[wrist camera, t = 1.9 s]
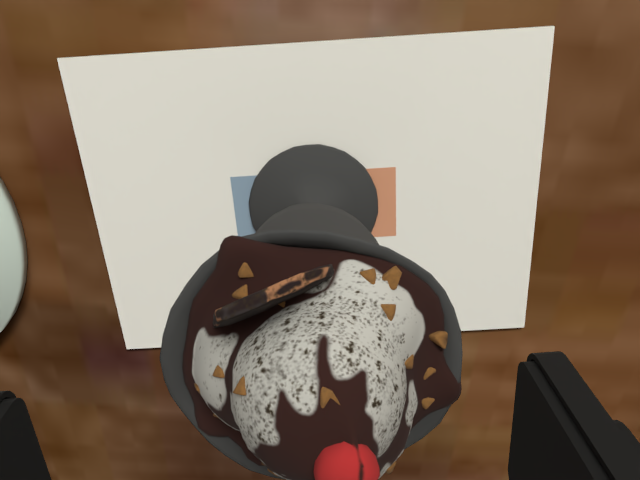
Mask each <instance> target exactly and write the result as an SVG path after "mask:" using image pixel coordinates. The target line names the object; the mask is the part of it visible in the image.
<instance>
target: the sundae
mask: <svg viewBox="0 0 640 480" xmlns="http://www.w3.org/2000/svg"><path fill="white" fill-rule="evenodd" d="M249 211H250V217H251V221H252V226H253V227H254V229H255V231H256V232H255V233H254V234H250V235H246V236H242V237H241V236H234V235H231V236H229V237H226V238H224V240H223V241H222V243H221V245H220V249H219V251H217V252H216V253H215V254H214V255H212V256H211V257H210V258H209V259H208V260H206V261H205V262H204V263H203V264H202V265H201V266H200V267H199V268H198V270H197V271H196V272H195V273H194V275H193V276H192V277H191V279H190V280H189V281H188V282H187V284H186V285H185V287H184V288H183V290H182V292H181V293H180V295H179V296H178V298H177V300H176V301H175V303H174V304H173V306H172V308H171V309H170V312H169V316H168V319H167V322H166V326H165V329H164V332H163V337H162V345H161V352H160V362H161V367H162V371H163V376H164V380H165V383H166V385H167V388H168V390H169V392H170V395H171V397H172V398H173V399H174V401H175V402H176V404H177V405H178V406H179V408H180V409H181V411H182V412H183V413H184V414H185V415H186V417H187V418H188V419H189V420H190V422H191V423H192V424H193V425H194V426H195V427H196V429H197V430H198V431H199V432H200V433H201V434H202V435H203V436H204V437H205V438H206V440H207V441H208V442H209V443H211V444H212V445H213V446H214V447H216V448H217V449H218V450H219V451H221V452H222V453H223V454H224V455H225V456H227V457H229V458H230V459H232V460H233V461H235V462H237V463H238V464H240V465H242V466H243V467H245V468H246V469H248V470H251V471H254V472H257V473H261V474H264V475H267V476H270V477H274V478H281V479H287V480H378V479H379V478H380V477H381V476H382V475H383V474H384V473H385V472H386V473H388V474H390V473H391V472H392V471H393V469H394V467H395V465H396V460H397V458H398V457H399V456H400V455H401V454H402V453H403V450H404V449H406V448H407V447H409V446H411V445H412V444H414V443H415V442H417V441H419V440H420V439H422V438H423V437H424V436H426V435H427V434H428V433H429V432H430V431H431V430H433V429H434V428H435V427H436V426H437V425H438V424H440V422H441V420H442V419H443V417H444V416H445V414H446V412H447V411H448V409H449V407H450V406H451V404H453V403H454V402H455V401H456V400H458V398H459V396H460V394H461V367H462V340H461V329H460V326H459V323H458V319H457V316H456V313H455V309H454V307H453V305H452V303H451V301H450V299H449V297H448V295H447V293H446V291H445V290H444V288H443V287H442V286H441V285H440V284H439V283H438V281H437V280H436V279H435V278H434V277H433V275H432V274H431V273H429V272H428V271H426V270H425V269H423V268H422V267H421V266H419V265H418V264H416V263H415V262H413V261H411V260H410V259H408V258H406V257H404V256H402V255H401V254H399V253H397V252H395V251H393V250H391V249H390V248H387V247H384V246H381V245H379V244H378V242H377V240H376V238H375V237H374V236H373V235H372V234H371V232H372V230H373V227H374V225H375V222H376V219H377V215H378V197H377V189H376V187H375V185H374V183H373V180H372V178H371V176H370V175H369V173H368V172H367V170H366V168H365V167H364V166H363V165H362V164H361V163H360V162H358V161H357V160H356V159H355V158H354V157H352V156H351V155H349V154H348V153H346V152H345V151H342V150H339V149H337V148H334V147H330V146H326V145H321V144H311V145H301V146H295V147H292V148H290V149H287V150H285V151H283V152H281V153H279V154H278V155H276V156H275V157H273V158H271V159H270V160H269V161H268V162H267V163H266V165H265V166H264V167H263V168H262V169H261V170H260V172H259V173H258V175H257V176H256V178H255V179H254V182H253V185H252V188H251V192H250V197H249Z"/></svg>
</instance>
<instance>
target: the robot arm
mask: <svg viewBox="0 0 640 480" xmlns="http://www.w3.org/2000/svg"><path fill="white" fill-rule="evenodd" d="M508 475H509V480H640V443H639V442H638V441H637V439H636V438H635V437H634V435H633V434H632V433H631V431H630V430H629V429H628V428H627V427H626V426H625V425H624V424H623V423H622V422H620V421H618V420H612V419H611V417H610V416H609V414H608V413H607V412H606V410H605V409H604V408H603V406H602V405H601V403H600V402H599V401H598V399H597V398H596V397H595V395H594V394H593V393H592V391H591V390H590V388H589V387H588V386H587V384H586V383H585V382H584V380H583V379H582V377H581V376H580V375H579V373H578V372H577V371H576V369H575V368H574V366H573V365H572V364H571V362H570V361H569V360H568V358H567V357H566V355H565V354H564V353H563V352H560V351H558V352H544V353H531V354H529V356H528V358H527V362H520V363H519V366H518V373H517V383H516V393H515V403H514V413H513V423H512V433H511V443H510V453H509V463H508ZM0 480H51V477H50V474H49V472H48V469H47V466H46V463H45V460H44V457H43V454H42V451H41V448H40V445H39V442H38V439H37V437H36V434H35V431H34V428H33V425H32V422H31V419H30V416H29V413H28V410H27V407H26V405H25V402H24V401H23V400H22V399H21V398H16V396H15V394H13V393H12V392H11V391H0Z"/></svg>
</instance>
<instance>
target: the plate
mask: <svg viewBox="0 0 640 480" xmlns="http://www.w3.org/2000/svg"><path fill="white" fill-rule="evenodd" d="M27 263H28V260H27V248H26V240H25V236H24V231H23V227H22V222H21V220H20V217H19V214H18V212H17V209H16V206H15V204H14V201H13V199H12V197H11V195H10V194H9V192H8V190H7V188H6V186H5V184H4V182H3V180H2V179H1V177H0V332H1V331H2V330H3V329H4V328H5V327H6V326H7V325H8V323H9V322H10V320H11V318H12V317H13V315H14V314H15V312H16V310H17V308H18V306H19V303H20V301H21V298H22V296H23V292H24V287H25V283H26V278H27Z"/></svg>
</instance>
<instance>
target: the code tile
mask: <svg viewBox="0 0 640 480" xmlns="http://www.w3.org/2000/svg"><path fill="white" fill-rule="evenodd" d="M554 28H555V26H541V27H525V28H510V29H495V30H479V31H464V32H448V33H433V34H418V35H402V36H387V37H371V38H356V39H341V40H325V41H310V42H294V43H279V44H264V45H248V46H233V47H217V48H202V49H187V50H171V51H156V52H140V53H125V54H110V55H94V56H79V57H64V58H57V61H58V65H59V69H60V73H61V77H62V81H63V86H64V90H65V94H66V98H67V102H68V106H69V111H70V115H71V119H72V123H73V127H74V131H75V136H76V140H77V144H78V148H79V152H80V156H81V161H82V165H83V169H84V173H85V177H86V181H87V186H88V190H89V194H90V198H91V202H92V206H93V211H94V215H95V219H96V223H97V227H98V231H99V236H100V240H101V244H102V248H103V252H104V257H105V261H106V265H107V269H108V273H109V277H110V282H111V286H112V290H113V294H114V298H115V302H116V307H117V311H118V315H119V319H120V323H121V327H122V332H123V336H124V340H125V344H126V348H127V349H141V348H159V347H161V345H162V337H163V332H164V329H165V326H166V322H167V319H168V316H169V312H170V309H171V308H172V306H173V304H174V303H175V301H176V300H177V298H178V296H179V295H180V293H181V292H182V290H183V288H184V287H185V285H186V284H187V282H188V281H189V280H190V279H191V277H192V276H193V275H194V273H195V272H196V271H197V270H198V268H199V267H200V266H201V265H202V264H203V263H204V262H205V261H206V260H208V259H209V258H210V257H211V256H212V255H214V254H215V253H216V252H217V251H219V249H220V245H221V243H222V241H223V240H224V238H226V237H229V236H231V235H234V236H241V237H242V236H246V235H250V234H254V233H255V232H256V231H255V229H254V227H253V226H252V221H251V217H250V211H249V197H250V192H251V188H252V185H253V182H254V179H255V178H256V176H257V175H258V173H259V172H260V170H261V169H262V168H263V167H264V166H265V165H266V163H267V162H268V161H269V160H270V159H271V158H273V157H275V156H276V155H278V154H279V153H281V152H283V151H285V150H287V149H290V148H292V147H295V146H301V145H311V144H321V145H326V146H330V147H334V148H337V149H339V150H342V151H345V152H346V153H348V154H349V155H351V156H352V157H354V158H355V159H356V160H357V161H358V162H360V163H361V164H362V165H363V166H364V167H365V168H366V170H367V172H368V173H369V175H370V176H371V178H372V180H373V183H374V185H375V187H376V189H377V197H378V215H377V219H376V222H375V225H374V227H373V230H372V232H371V234H372V235H373V236H374V237H375V238H376V240H377V242H378V244H379V245H381V246H384V247H387V248H390V249H391V250H393V251H395V252H397V253H399V254H401V255H402V256H404V257H406V258H408V259H410V260H411V261H413V262H415V263H416V264H418V265H419V266H421V267H422V268H423V269H425V270H426V271H428V272H429V273H431V274H432V275H433V277H434V278H435V279H436V280H437V281H438V283H439V284H440V285H441V286H442V287H443V288H444V290H445V291H446V293H447V295H448V297H449V299H450V301H451V303H452V305H453V307H454V309H455V313H456V316H457V319H458V323H459V326H460V329H461V331H469V330H487V329H505V328H523V327H524V324H525V314H526V305H527V295H528V285H529V275H530V265H531V255H532V245H533V235H534V226H535V216H536V206H537V196H538V186H539V176H540V166H541V156H542V147H543V137H544V127H545V117H546V107H547V97H548V87H549V77H550V68H551V58H552V48H553V38H554Z"/></svg>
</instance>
